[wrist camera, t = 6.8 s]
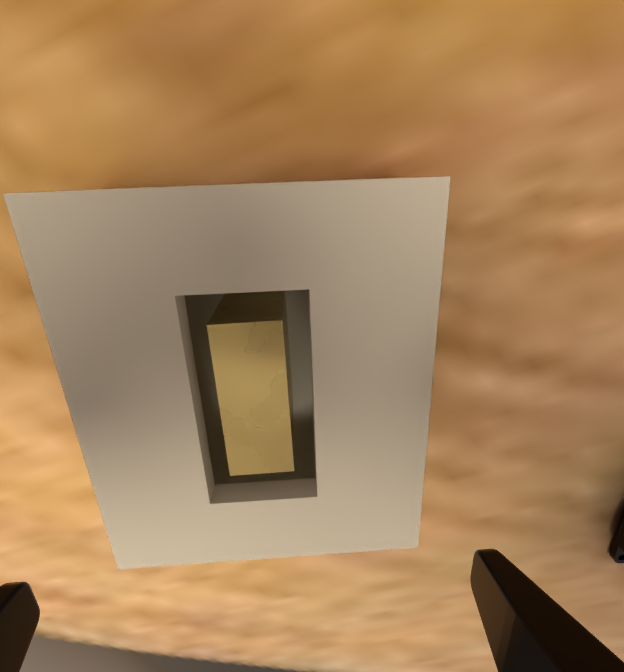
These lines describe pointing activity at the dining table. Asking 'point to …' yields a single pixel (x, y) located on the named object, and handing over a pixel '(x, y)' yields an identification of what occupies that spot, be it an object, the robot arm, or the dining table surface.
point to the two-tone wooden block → (254, 381)
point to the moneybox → (197, 368)
